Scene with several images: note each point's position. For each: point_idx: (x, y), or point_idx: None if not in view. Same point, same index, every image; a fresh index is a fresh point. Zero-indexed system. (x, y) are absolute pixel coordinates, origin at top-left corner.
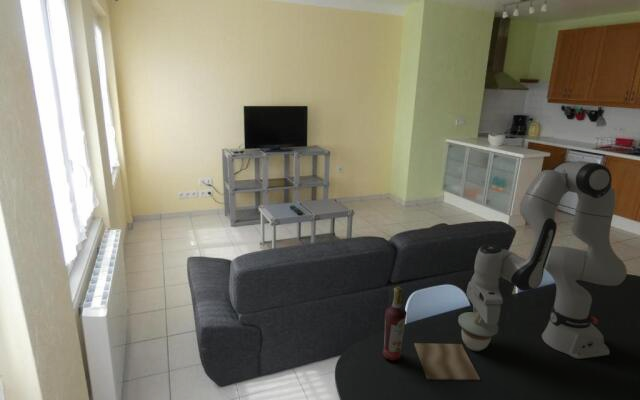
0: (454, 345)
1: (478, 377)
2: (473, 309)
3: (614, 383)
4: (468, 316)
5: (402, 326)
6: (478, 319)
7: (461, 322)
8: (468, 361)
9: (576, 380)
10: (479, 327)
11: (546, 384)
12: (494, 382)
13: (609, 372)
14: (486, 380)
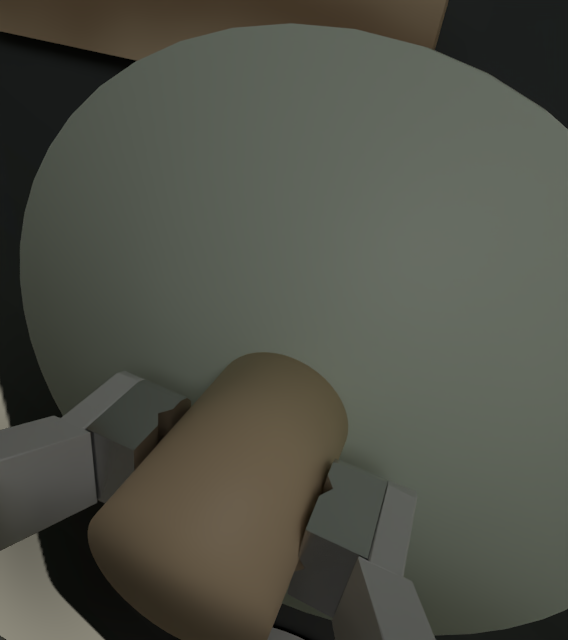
0: (413, 9)
1: (1, 22)
2: (430, 638)
3: (85, 590)
4: (516, 410)
5: None
6: (134, 433)
7: (341, 90)
8: (162, 40)
9: (83, 516)
10: (167, 347)
11: (45, 400)
12: (8, 138)
13: (131, 627)
14: (14, 88)
